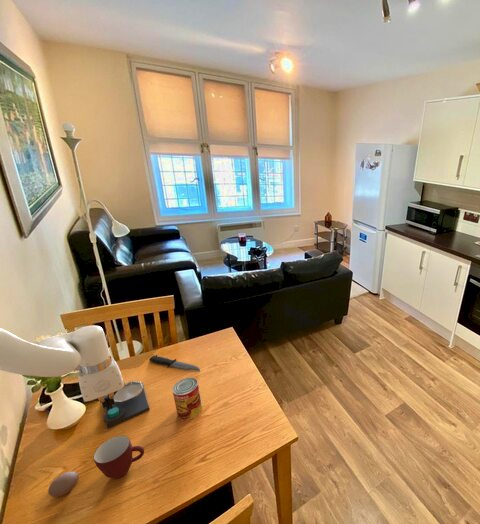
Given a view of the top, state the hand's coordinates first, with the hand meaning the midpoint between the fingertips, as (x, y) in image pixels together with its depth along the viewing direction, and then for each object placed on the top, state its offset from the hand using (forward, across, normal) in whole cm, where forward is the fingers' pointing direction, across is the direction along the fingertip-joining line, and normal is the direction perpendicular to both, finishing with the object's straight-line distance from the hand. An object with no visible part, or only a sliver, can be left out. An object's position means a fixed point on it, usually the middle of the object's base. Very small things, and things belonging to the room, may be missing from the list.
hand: (109, 406), depth 96 cm
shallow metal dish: (+4, +5, +8) cm, 10 cm away
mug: (+7, +1, -21) cm, 22 cm away
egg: (+7, -12, -17) cm, 22 cm away
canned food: (+7, +21, -11) cm, 25 cm away
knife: (+6, +23, +16) cm, 29 cm away
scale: (+7, +4, +5) cm, 9 cm away
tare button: (+4, +1, 0) cm, 4 cm away
